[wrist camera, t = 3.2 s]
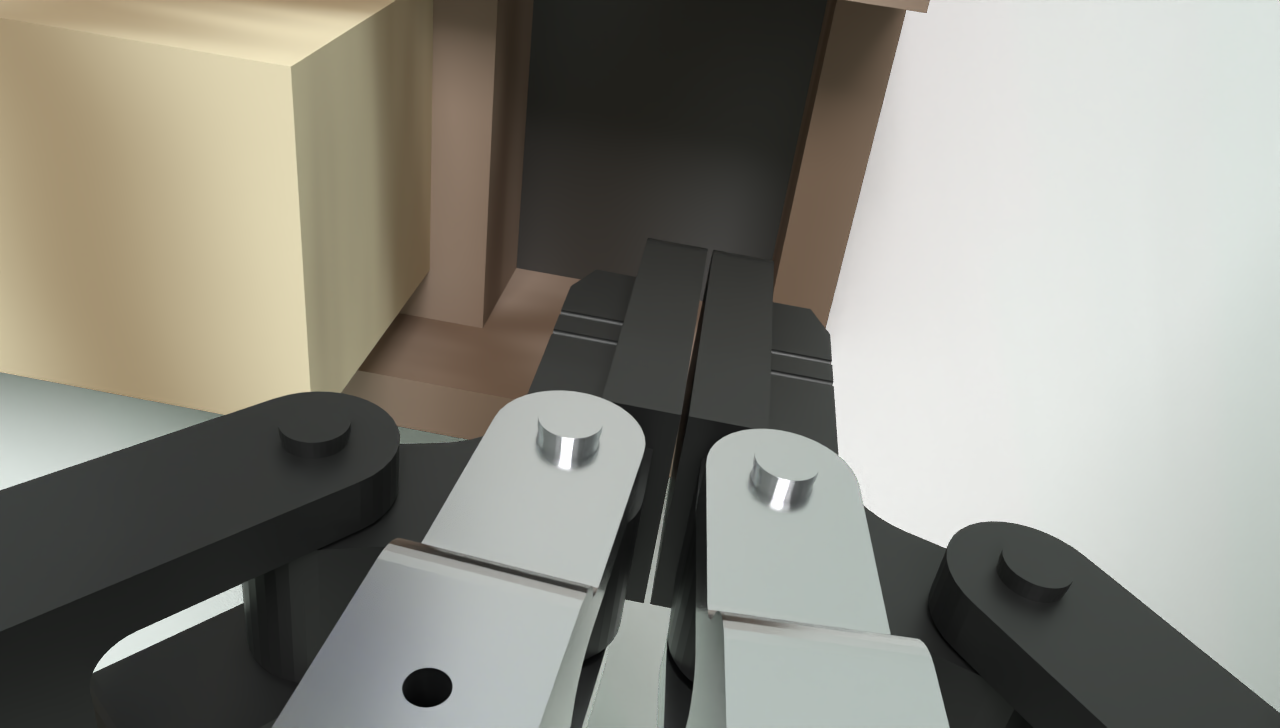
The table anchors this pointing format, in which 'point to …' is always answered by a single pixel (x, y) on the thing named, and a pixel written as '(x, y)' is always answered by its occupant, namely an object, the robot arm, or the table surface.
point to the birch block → (210, 192)
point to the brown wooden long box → (622, 170)
